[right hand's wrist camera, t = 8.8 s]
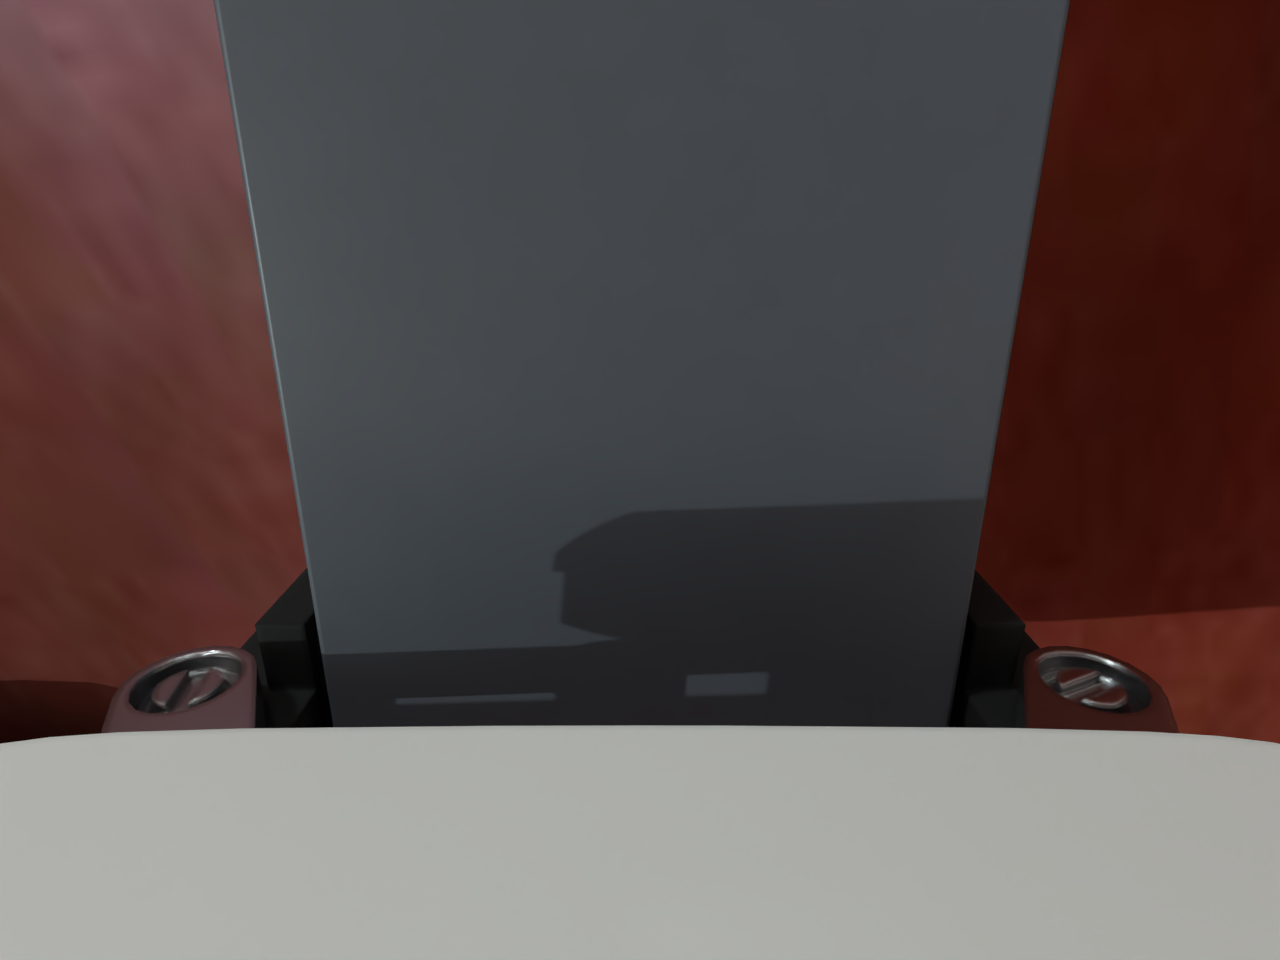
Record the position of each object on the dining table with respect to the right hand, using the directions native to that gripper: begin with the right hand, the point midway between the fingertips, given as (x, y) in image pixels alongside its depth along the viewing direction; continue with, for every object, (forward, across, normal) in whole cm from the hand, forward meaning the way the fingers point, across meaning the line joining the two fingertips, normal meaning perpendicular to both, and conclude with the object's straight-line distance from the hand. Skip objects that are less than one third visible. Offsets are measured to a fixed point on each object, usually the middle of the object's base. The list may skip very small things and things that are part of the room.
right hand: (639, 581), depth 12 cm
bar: (+2, 0, -35) cm, 35 cm away
